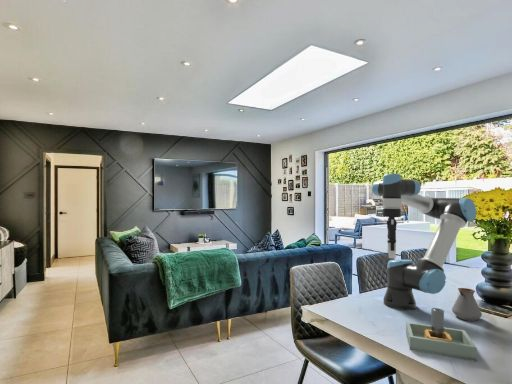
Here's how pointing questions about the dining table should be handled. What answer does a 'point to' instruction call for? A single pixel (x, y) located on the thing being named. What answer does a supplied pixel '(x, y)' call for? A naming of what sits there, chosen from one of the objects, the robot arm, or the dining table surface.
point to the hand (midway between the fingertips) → (391, 255)
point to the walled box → (441, 342)
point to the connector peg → (437, 323)
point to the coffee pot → (466, 305)
